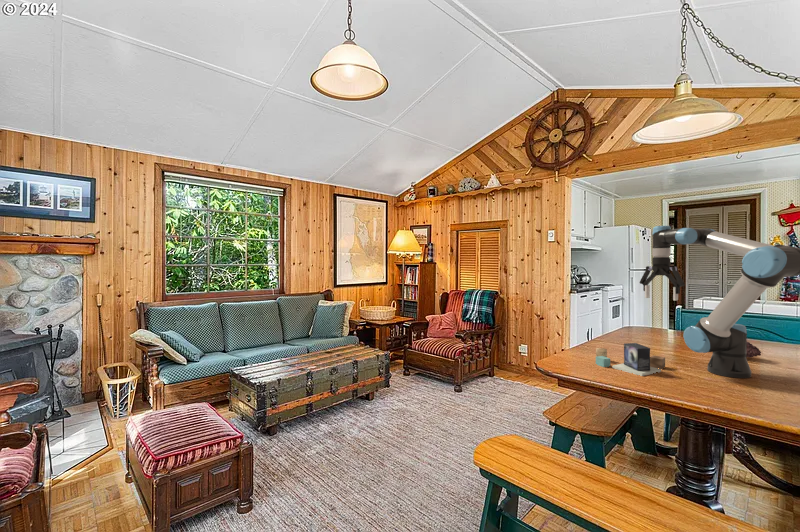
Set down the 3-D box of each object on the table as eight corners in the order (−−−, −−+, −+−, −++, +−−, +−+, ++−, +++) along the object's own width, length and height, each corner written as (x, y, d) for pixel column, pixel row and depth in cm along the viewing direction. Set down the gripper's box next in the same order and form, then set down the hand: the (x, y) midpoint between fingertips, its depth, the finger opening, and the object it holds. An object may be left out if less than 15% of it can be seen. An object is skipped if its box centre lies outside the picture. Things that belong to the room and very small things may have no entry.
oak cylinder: (609, 361, 194) (609, 349, 194) (602, 362, 192) (602, 350, 192) (600, 359, 199) (600, 347, 199) (593, 360, 197) (593, 348, 197)
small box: (622, 364, 184) (622, 342, 184) (635, 364, 184) (636, 342, 184) (636, 371, 174) (637, 348, 173) (650, 370, 174) (651, 347, 174)
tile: (660, 371, 176) (660, 369, 176) (641, 376, 170) (641, 373, 170) (631, 364, 189) (631, 361, 189) (612, 368, 183) (612, 365, 183)
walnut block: (665, 367, 183) (665, 357, 183) (661, 369, 180) (662, 359, 180) (653, 365, 187) (653, 355, 187) (649, 367, 184) (649, 357, 183)
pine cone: (768, 362, 190) (768, 342, 189) (750, 363, 188) (751, 343, 188) (732, 353, 207) (732, 335, 207) (716, 354, 206) (716, 336, 205)
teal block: (610, 366, 185) (610, 358, 185) (603, 367, 184) (603, 359, 184) (602, 364, 190) (602, 356, 190) (595, 364, 189) (595, 356, 189)
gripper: (693, 256, 182) (693, 301, 182) (641, 256, 204) (640, 296, 205) (684, 256, 178) (684, 302, 179) (632, 256, 201) (631, 297, 201)
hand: (661, 299), depth 192 cm, fingers open, 13 cm apart
